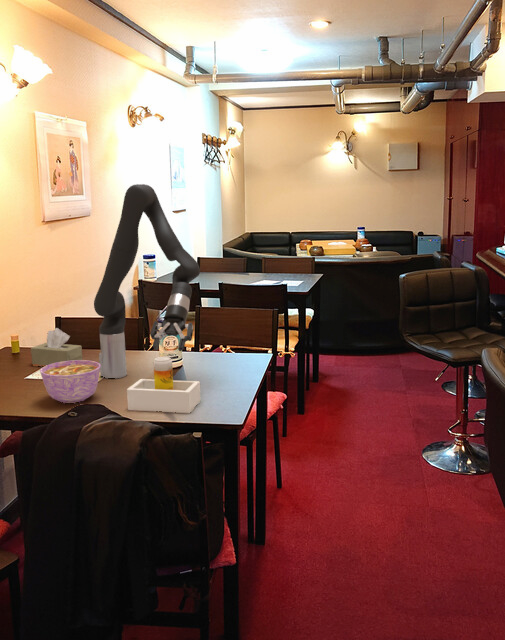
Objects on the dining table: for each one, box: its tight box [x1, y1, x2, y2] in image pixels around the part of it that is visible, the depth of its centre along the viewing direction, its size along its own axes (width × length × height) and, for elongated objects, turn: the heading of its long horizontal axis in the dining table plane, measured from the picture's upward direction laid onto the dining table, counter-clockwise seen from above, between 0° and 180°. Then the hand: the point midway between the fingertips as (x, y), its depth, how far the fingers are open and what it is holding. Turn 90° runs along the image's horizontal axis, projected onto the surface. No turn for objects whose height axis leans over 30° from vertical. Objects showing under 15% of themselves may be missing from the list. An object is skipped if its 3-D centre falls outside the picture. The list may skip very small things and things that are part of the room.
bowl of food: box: [39, 359, 101, 404], centre depth 218 cm, size 20×20×12 cm
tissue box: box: [30, 327, 84, 365], centre depth 264 cm, size 19×10×16 cm, turn 69°
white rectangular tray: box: [126, 378, 201, 414], centre depth 211 cm, size 21×12×7 cm, turn 78°
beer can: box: [153, 356, 174, 390], centre depth 210 cm, size 6×6×15 cm
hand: (167, 349), depth 214 cm, fingers open, 8 cm apart
